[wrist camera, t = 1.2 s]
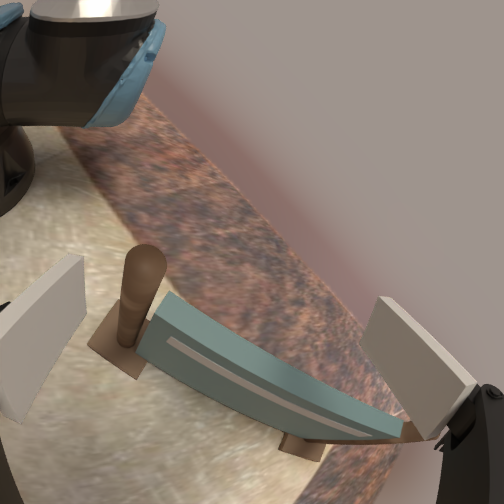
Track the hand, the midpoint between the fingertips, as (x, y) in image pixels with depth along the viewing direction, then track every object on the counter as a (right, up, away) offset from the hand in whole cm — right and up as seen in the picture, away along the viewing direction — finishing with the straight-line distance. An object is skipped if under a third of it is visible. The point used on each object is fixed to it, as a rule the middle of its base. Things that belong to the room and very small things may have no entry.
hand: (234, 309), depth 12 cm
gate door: (-2, -13, +15) cm, 20 cm away
